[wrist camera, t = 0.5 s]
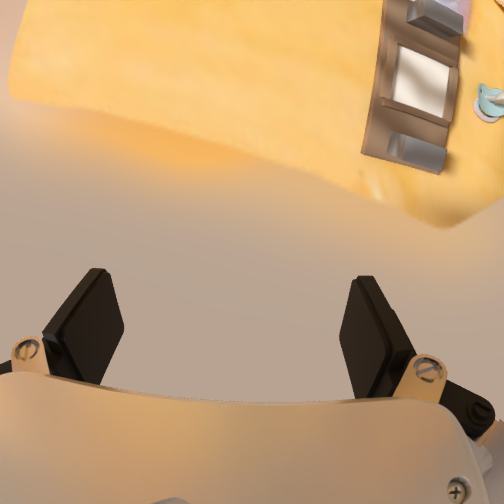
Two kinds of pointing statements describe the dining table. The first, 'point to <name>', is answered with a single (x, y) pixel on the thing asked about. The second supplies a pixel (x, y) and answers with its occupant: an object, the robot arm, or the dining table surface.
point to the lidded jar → (500, 2)
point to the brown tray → (414, 84)
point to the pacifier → (489, 103)
